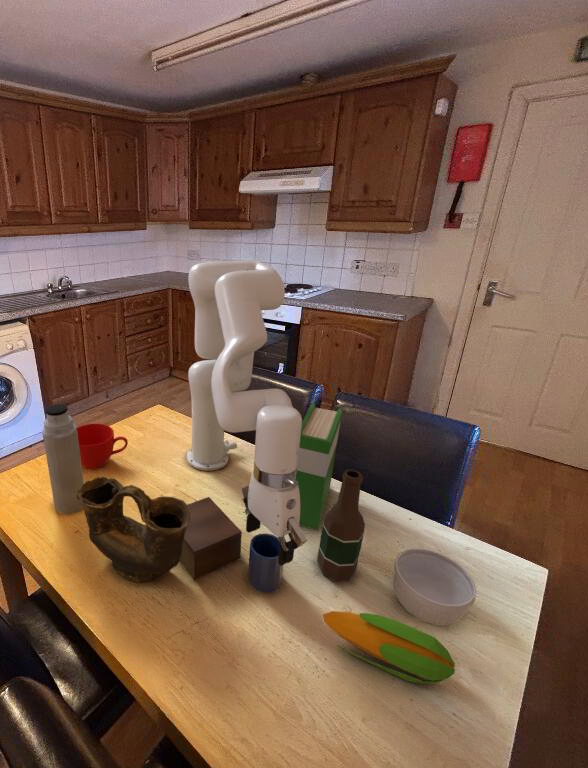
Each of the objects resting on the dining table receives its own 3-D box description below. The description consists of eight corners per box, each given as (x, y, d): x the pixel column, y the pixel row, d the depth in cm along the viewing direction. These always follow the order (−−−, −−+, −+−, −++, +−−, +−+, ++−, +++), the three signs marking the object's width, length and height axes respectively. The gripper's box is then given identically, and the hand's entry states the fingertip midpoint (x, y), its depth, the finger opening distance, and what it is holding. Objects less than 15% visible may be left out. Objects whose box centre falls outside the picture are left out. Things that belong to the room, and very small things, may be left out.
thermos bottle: (61, 493, 112) (46, 399, 101) (89, 494, 111) (78, 400, 100) (49, 513, 105) (32, 414, 94) (80, 514, 104) (67, 416, 93)
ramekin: (469, 646, 72) (480, 618, 69) (385, 613, 78) (392, 586, 75) (464, 588, 82) (473, 562, 80) (390, 564, 88) (396, 539, 86)
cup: (266, 561, 89) (269, 529, 86) (288, 584, 84) (292, 550, 80) (241, 573, 87) (243, 540, 83) (261, 598, 81) (265, 564, 78)
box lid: (165, 515, 93) (164, 512, 93) (208, 499, 98) (208, 496, 98) (194, 555, 83) (194, 552, 82) (241, 534, 88) (241, 531, 87)
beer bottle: (354, 558, 90) (373, 465, 80) (356, 587, 83) (377, 490, 73) (317, 550, 92) (331, 459, 83) (315, 577, 85) (331, 481, 76)
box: (166, 540, 96) (166, 517, 93) (209, 523, 100) (209, 500, 98) (194, 580, 85) (194, 555, 83) (240, 558, 90) (241, 534, 88)
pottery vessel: (74, 562, 90) (62, 487, 82) (103, 529, 99) (95, 459, 91) (177, 605, 80) (175, 525, 72) (199, 565, 89) (200, 489, 81)
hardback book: (302, 480, 115) (311, 403, 106) (329, 488, 112) (342, 409, 102) (285, 520, 101) (295, 434, 91) (317, 530, 98) (330, 442, 88)
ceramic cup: (126, 475, 119) (124, 445, 115) (67, 475, 119) (63, 446, 115) (131, 451, 131) (129, 423, 127) (78, 451, 131) (74, 423, 127)
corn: (463, 673, 60) (321, 616, 69) (451, 708, 63) (315, 650, 71) (458, 632, 66) (328, 585, 75) (446, 666, 69) (322, 617, 78)
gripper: (326, 491, 69) (315, 568, 76) (260, 444, 83) (256, 513, 90) (292, 505, 66) (283, 584, 72) (229, 454, 80) (227, 524, 87)
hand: (268, 545), depth 81 cm, fingers open, 9 cm apart
